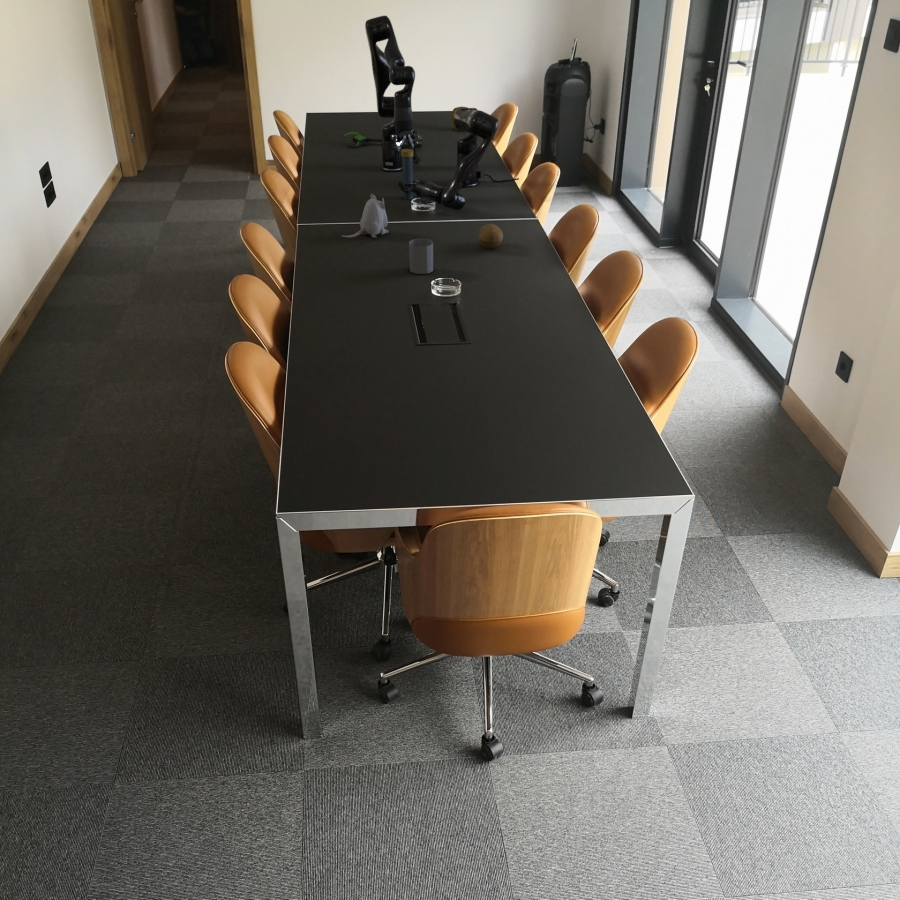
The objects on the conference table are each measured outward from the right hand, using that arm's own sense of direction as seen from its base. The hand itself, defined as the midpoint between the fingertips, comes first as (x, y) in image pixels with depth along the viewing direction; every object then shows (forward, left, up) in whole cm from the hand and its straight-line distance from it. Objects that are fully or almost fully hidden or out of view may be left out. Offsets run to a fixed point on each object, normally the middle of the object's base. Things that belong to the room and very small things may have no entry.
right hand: (404, 182), depth 380 cm
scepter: (-43, -86, -6) cm, 97 cm away
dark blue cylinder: (0, +3, -6) cm, 7 cm away
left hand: (+1, +2, +11) cm, 11 cm away
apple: (-102, -81, -6) cm, 131 cm away
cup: (+50, +75, -6) cm, 90 cm away
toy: (+45, +34, -6) cm, 57 cm away
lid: (0, +3, +14) cm, 14 cm away
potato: (+15, +72, -6) cm, 74 cm away
